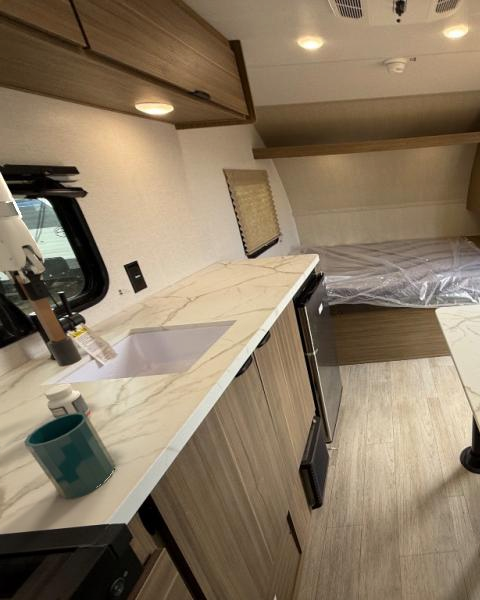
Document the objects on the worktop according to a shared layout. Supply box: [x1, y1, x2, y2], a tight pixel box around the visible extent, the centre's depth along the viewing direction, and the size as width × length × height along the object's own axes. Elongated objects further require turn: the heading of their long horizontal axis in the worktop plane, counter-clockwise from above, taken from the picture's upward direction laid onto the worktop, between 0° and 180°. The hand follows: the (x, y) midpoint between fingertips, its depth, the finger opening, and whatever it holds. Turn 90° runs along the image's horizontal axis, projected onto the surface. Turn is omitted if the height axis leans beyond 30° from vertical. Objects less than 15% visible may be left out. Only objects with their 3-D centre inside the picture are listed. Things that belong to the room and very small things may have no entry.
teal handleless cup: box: [24, 412, 116, 500], centre depth 55 cm, size 7×7×12 cm
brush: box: [15, 273, 82, 367], centre depth 72 cm, size 4×4×22 cm
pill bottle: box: [44, 382, 92, 419], centre depth 71 cm, size 5×5×9 cm
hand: (36, 297), depth 70 cm, fingers closed on brush, 2 cm apart
